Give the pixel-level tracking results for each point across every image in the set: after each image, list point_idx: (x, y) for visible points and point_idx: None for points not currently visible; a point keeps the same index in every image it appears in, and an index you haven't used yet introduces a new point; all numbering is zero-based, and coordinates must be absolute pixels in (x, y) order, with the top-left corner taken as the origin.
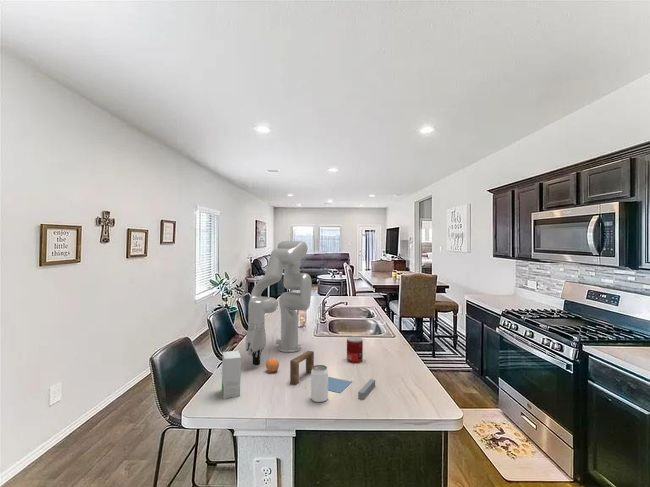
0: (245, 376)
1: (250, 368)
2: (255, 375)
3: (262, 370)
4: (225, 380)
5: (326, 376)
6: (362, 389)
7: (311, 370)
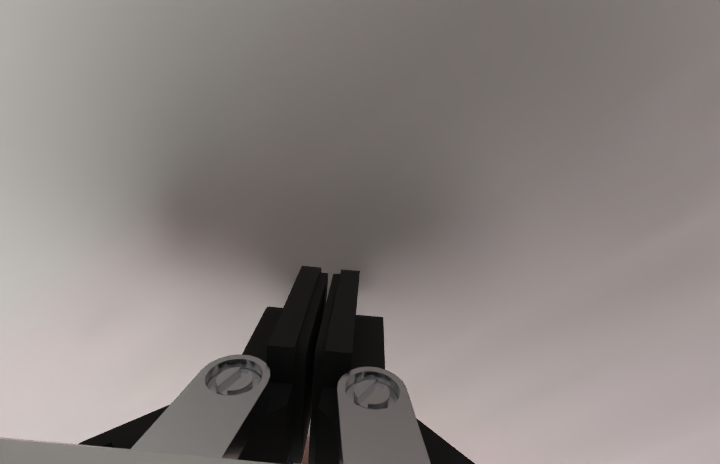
0: (40, 316)
1: (285, 223)
2: (133, 399)
3: None
4: None
5: None
6: None
7: None
